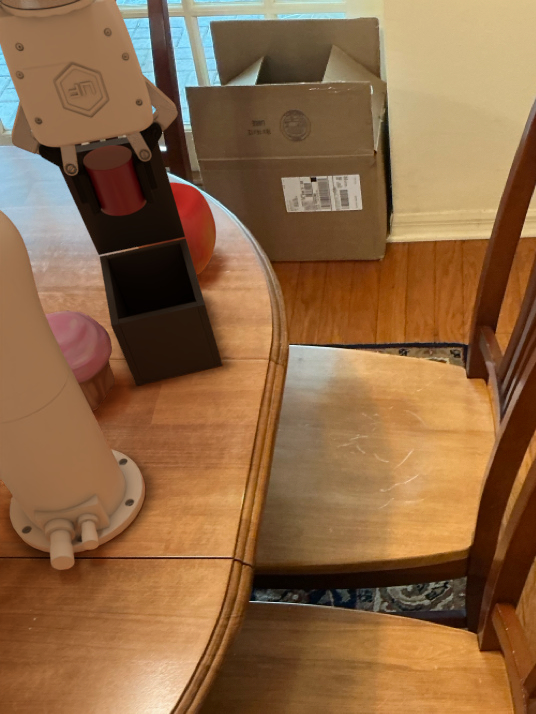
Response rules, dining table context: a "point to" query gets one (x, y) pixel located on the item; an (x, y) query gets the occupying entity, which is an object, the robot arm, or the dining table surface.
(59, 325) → the cupcake
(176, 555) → the dining table surface
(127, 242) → the bin lid
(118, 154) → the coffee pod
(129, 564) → the dining table surface
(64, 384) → the robot arm
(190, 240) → the apple
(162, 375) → the open square bin
